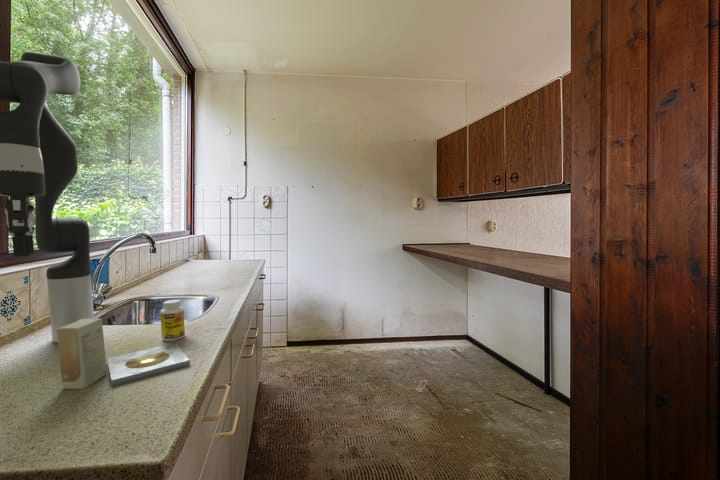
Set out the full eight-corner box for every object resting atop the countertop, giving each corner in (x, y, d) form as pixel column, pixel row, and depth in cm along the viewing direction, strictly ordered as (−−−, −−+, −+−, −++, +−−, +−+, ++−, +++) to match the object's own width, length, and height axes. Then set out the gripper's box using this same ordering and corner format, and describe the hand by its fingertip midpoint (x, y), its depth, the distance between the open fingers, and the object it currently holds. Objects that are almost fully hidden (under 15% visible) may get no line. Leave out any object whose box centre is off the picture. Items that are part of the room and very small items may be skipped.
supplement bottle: (162, 343, 89) (160, 305, 88) (161, 337, 94) (159, 300, 93) (186, 338, 92) (184, 301, 91) (183, 333, 97) (181, 297, 96)
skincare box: (88, 374, 72) (83, 317, 71) (108, 374, 72) (103, 317, 71) (60, 390, 65) (55, 328, 64) (82, 390, 65) (77, 327, 64)
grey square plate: (107, 363, 77) (107, 357, 77) (176, 347, 86) (175, 342, 86) (111, 386, 66) (111, 380, 66) (189, 365, 75) (189, 359, 75)
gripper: (42, 168, 62) (49, 255, 63) (45, 176, 73) (51, 250, 74) (-19, 164, 57) (-10, 259, 58) (-6, 173, 68) (2, 253, 69)
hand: (24, 254), depth 66 cm, fingers open, 8 cm apart
